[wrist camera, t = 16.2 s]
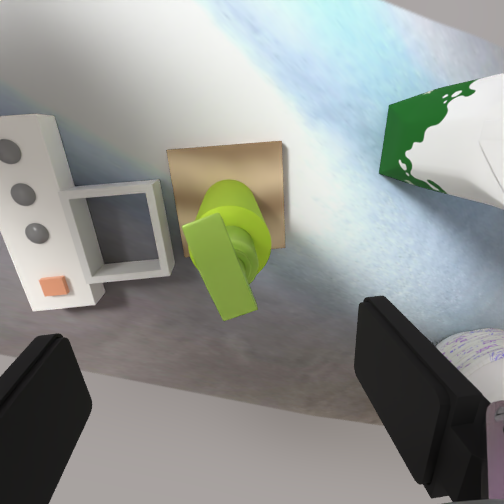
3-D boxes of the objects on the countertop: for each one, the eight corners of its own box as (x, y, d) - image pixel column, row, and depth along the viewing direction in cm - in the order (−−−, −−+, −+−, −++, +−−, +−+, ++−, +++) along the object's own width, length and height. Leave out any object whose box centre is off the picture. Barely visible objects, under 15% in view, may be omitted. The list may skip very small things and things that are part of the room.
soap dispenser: (241, 161, 31) (261, 198, 13) (262, 221, 34) (304, 323, 15) (190, 181, 32) (137, 244, 13) (214, 238, 34) (198, 358, 16)
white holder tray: (-19, 121, 29) (-51, 119, 26) (146, 109, 30) (136, 105, 26) (47, 297, 36) (29, 314, 33) (179, 284, 37) (174, 299, 34)
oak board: (168, 149, 31) (166, 150, 30) (280, 140, 32) (281, 140, 31) (185, 254, 36) (184, 257, 35) (283, 244, 36) (285, 247, 35)
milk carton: (369, 181, 34) (538, 234, 16) (381, 93, 31) (613, 28, 12) (441, 180, 35) (685, 230, 16) (461, 94, 32) (794, 33, 13)
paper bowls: (510, 304, 42) (570, 339, 35) (499, 382, 48) (549, 427, 41) (406, 327, 42) (444, 367, 35) (408, 403, 48) (440, 451, 41)
